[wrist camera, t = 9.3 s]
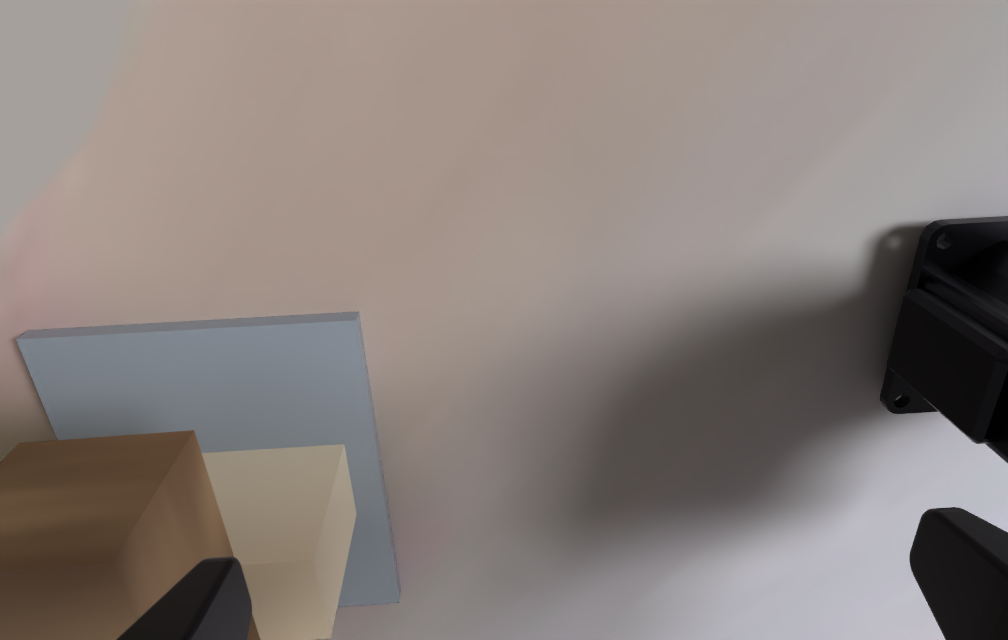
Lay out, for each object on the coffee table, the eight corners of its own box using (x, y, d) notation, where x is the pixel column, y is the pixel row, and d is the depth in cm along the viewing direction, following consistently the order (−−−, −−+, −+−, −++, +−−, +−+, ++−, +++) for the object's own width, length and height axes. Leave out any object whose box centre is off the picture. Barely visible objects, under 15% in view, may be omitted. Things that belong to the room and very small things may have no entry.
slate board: (359, 309, 21) (324, 414, 15) (400, 585, 26) (385, 734, 21) (31, 327, 20) (-117, 442, 15) (141, 603, 26) (59, 759, 20)
